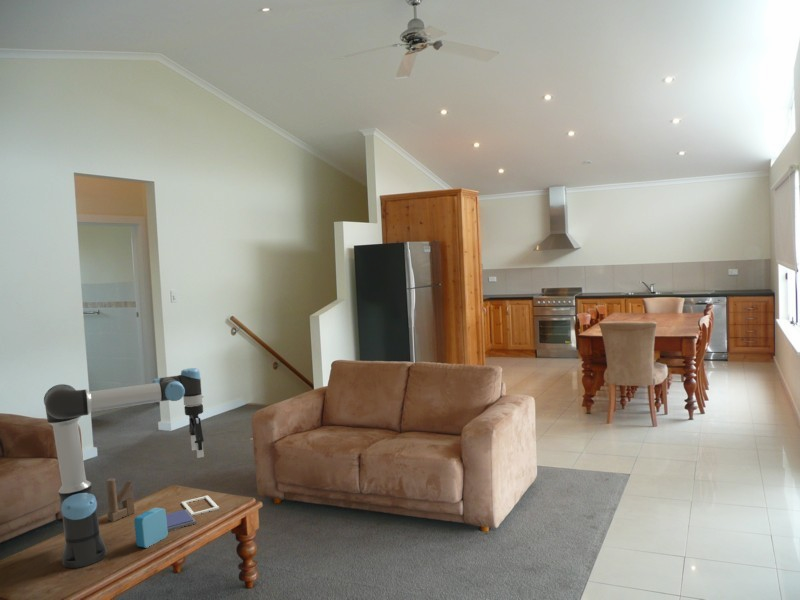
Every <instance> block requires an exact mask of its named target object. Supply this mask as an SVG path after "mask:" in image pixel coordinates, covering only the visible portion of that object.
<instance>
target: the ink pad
mask: <svg viewBox="0 0 800 600" xmlns="http://www.w3.org/2000/svg"><path fill="white" fill-rule="evenodd" d="M166 519H167V529H168V532H170V531H171V530H172V531H175V529H176V530H178V528H179V529H181V528H180V527H183V528H185V527H184V526H186V527H188V526H187V525H190V526H193V525H192V524H194V525H197V520H196V519H195V518H194V517H193V516H192V515H191V514H190V513H189V512H188V511H187V509H185V508H184V509H182V510H177V511H173V512H169V513H166ZM172 531H171V532H172Z"/></svg>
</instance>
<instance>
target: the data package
mask: <svg viewBox="0 0 800 600" xmlns="http://www.w3.org/2000/svg"><path fill="white" fill-rule="evenodd" d="M166 514H167V512H166V509H165V508H162V507H153V508H151V509H149V510H147V511H145V512H143V513H141V514H139V515H137V516H135V518H134V524H133V525H134V534H135V544H136V546H137V547H139V548H145V549H148V548H150V547H152V546H154V545H155V544H157V543H160V542H161V541H163V540H164V539H166V538H167V537H168V534H169V531H168V529H167V519H166ZM160 540H161V541H160ZM153 544H154V545H153ZM151 545H152V546H151ZM149 546H150V547H149Z"/></svg>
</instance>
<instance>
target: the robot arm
mask: <svg viewBox="0 0 800 600" xmlns="http://www.w3.org/2000/svg"><path fill="white" fill-rule="evenodd" d="M180 372H181V373H180V374H178V375H173V376H165V377H158V378H153V380H152V381H151V383H147V384H139V385H131V386H130V385H129V386H123V387H122V386H121V387H115V388H107V389H106V388H105V389H101V390H94V391H93V390H92V391H90V390H88V389H75V388H74V386H72V385H69V384H65V383H60V384H56V385H53V386H52V387H50V388H49V389H48V390H47V391H46V393H45V395H44V396H43V403H44V408H45V413H46V421H47V423H48V424H49V425H50V426H52V428H53V429H52V430H53V436H54V442H55V448H56V449H55V450H56V456H57V460H58V461H57V462H58V468H59V474H60V481H61V486H60V488H59V489H58V491H57V492H58V496H59V507H60V512H61V516H62V524H63V532H64V541H65V542H64V543H65V544H64V548H63V553H62V557H61V563H62V566H63V567H64V568H67V569H77V568H83V567H86V566H91V565H93V564H96V563H98V562H99V561H101V560H102V559H104V558H105V557H106V556H107V555H108V552H107V546H106V544H105V541H104V540H103V538H102V536H101V534H100V524H99V523H100V522H99V516H98V501H97V499H96V496H95V495H94V493H93V486H92V482H91V481H89V480H87V476H86V470H85V463H84V462H85V461H84V456H83V450H82V441H81V437H80V436H81V435H80V429H79V423H78V421H79V420H80V419H81V417H82V416H84V417H85V416H88V415H90V413H92V412H96V411H98V412H99V411H104V410H111V409H117V408H123V407H124V408H125V407H131V406H138V405H145V404H150V403H152V404H153V403H159V402H166V401H170V402H179V401H180V400H181V399H183V406H184V415H186V416H188V417H189V418H188V422H189V427H188V429H189V430H188V431H189V435H190V444H191V445H190V446H191V451H192V452H193V451H196V459H199V458H204V457H205V454H204V453H205V452H204V441H205V439H204V435H203V427H202V423H201V420H202V419H201V417H200V416H199V415H201V414H204V406H203V404H202V403H203V398H204V395H202V382H201V381H202V378H201V373H200V370H199V369H198V368H196V367H195V368H193V367H191V368H186V369H182V370H181V371H180Z"/></svg>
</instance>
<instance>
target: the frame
mask: <svg viewBox="0 0 800 600" xmlns="http://www.w3.org/2000/svg"><path fill="white" fill-rule="evenodd" d="M198 500H199V501H202V500H206V501H207V502H208V503H209V504H210V505H211V506H212V507H209V508H205V509H203V510H198V511H194V510H193V509H192V508H191V507H190V506H189V504H190V503H189V502H191V503H194V502H193V501H195V502H198ZM180 503H182V504H181V505H182V506H183V508H184V509H185V508H186V509H187V511H188V512H189V513H190V514H191V515H192V517H193V515H195V516H198V515H201V513H202V514H205V513H209V511H210V512H213V511H217V510H220V506H219V505H217V503H216V502H215V501H214V500H213V499H212V498H211V497H210V496H209V495H204V496H201V497H196V498H192V499H188V500H183V501H181V502H180Z"/></svg>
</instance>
